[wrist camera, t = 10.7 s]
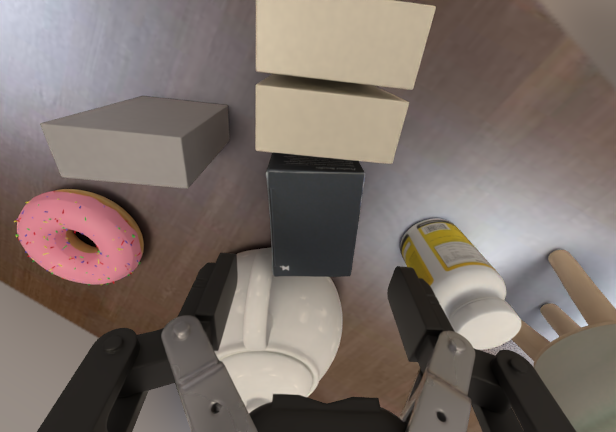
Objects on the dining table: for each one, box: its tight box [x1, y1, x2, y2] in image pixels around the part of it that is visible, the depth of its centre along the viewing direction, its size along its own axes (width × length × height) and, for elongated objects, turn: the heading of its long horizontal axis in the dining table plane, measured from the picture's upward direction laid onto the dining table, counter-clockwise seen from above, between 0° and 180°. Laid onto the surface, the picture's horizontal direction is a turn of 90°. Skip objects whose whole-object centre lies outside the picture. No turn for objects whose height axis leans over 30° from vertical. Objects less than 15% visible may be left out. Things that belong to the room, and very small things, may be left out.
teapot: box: [215, 247, 342, 413], centre depth 28 cm, size 19×18×14 cm
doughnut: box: [14, 189, 144, 285], centre depth 27 cm, size 11×11×4 cm
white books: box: [255, 0, 436, 164], centre depth 17 cm, size 6×7×11 cm
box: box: [266, 152, 365, 277], centre depth 21 cm, size 8×6×11 cm
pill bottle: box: [400, 219, 521, 350], centre depth 25 cm, size 6×6×12 cm
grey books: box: [40, 96, 230, 189], centre depth 15 cm, size 16×7×10 cm, turn 174°
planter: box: [512, 250, 616, 432], centre depth 25 cm, size 16×16×22 cm
